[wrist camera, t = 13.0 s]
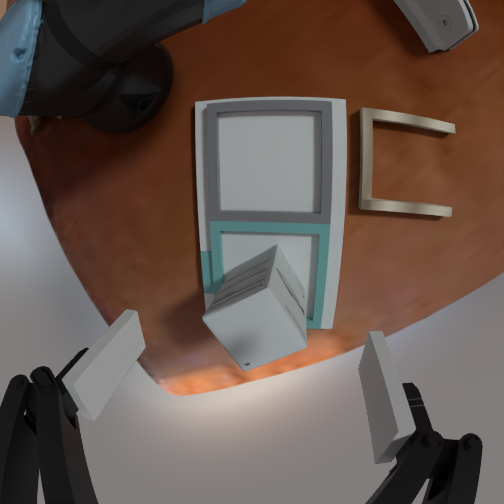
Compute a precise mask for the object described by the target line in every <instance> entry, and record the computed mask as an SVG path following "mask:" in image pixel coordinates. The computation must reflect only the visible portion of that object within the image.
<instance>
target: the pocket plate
mask: <svg viewBox="0 0 504 504" xmlns="http://www.w3.org/2000/svg"><path fill="white" fill-rule="evenodd" d="M195 137H196V176H197V199H198V218H199V235H200V249H201V263H202V275H203V287H204V297H205V307H206V311H207V309H208V308H209V306H210V304H211V303H212V301H213V299H214V298H215V296H216V294H217V293H218V291H219V289H220V288H221V286H222V284H223V283H224V281H225V279H226V278H227V276H228V275H229V273H230V272H231V270H232V269H234V268H236V267H238V266H239V265H241V264H243V263H245V262H247V261H248V260H250V259H252V258H254V257H256V256H257V255H259V254H261V253H263V252H265V251H266V250H268V249H270V248H272V247H274V246H275V245H277V244H278V245H279V247H280V249H281V250H282V252H283V254H284V256H285V257H286V259H287V261H288V262H289V264H290V266H291V268H292V269H293V271H294V273H295V274H296V276H297V277H298V279H299V281H300V282H301V284H302V285H303V287H304V288H305V294H306V329H332V326H333V320H334V313H335V306H336V298H337V291H338V282H339V273H340V264H341V254H342V242H343V230H344V215H345V196H346V162H347V129H346V100H344V99H332V98H314V97H252V98H234V99H221V100H210V101H201V102H195Z"/></svg>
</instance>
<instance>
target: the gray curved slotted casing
mask: <svg viewBox="0 0 504 504" xmlns="http://www.w3.org/2000/svg"><path fill="white" fill-rule="evenodd" d="M394 2H395V3H396V4H397V6H398V7H399V8H400V9H401V11H402V12H403V14H404V15H405V16H406V18H407V19H408V20H409V22H410V23H411V25H412V26H413V28H414V29H415V31H416V32H417V34H418V35H419V37H420V38H421V40H422V41H423V43H424V45H425V46H426V48H427V50H428V51H429V52H433V51H435V50H437V49H440V50H444V51H446V50H447V49H449V50H451V49H453V48H454V47H456V46H457V45H458V44H460V43H461V42H463V41H464V40H465V39H467V38H468V37H470V36H471V35H472V34H474V33H475V32H477V31H478V23H477V20H476V17H475V15H474V12H473V10H472V8H471V6H470V3H469V2H468V0H394Z"/></svg>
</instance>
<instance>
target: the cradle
mask: <svg viewBox="0 0 504 504" xmlns="http://www.w3.org/2000/svg"><path fill="white" fill-rule="evenodd" d="M373 120H374V121H382V122H389V123H396V124H402V125H408V126H414V127H419V128H425V129H430V130H434V131H439V132H443V133H448V134H454V133H455V124H451V123H447V122H443V121H439V120H434V119H430V118H425V117H420V116H415V115H410V114H404V113H398V112H392V111H386V110H379V109H371V108H361V109H360V183H359V204H358V207H359V208H360V209H365V210H380V211H393V212H405V213H417V214H428V215H438V216H447V217H451V213H452V208H451V207H449V206H444V205H436V204H427V203H418V202H408V201H397V200H385V199H373V198H371V193H372V168H373Z"/></svg>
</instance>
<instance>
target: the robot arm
mask: <svg viewBox="0 0 504 504" xmlns="http://www.w3.org/2000/svg"><path fill="white" fill-rule="evenodd" d="M246 1H247V0H16V1H15V2H14V3H13V4H12V5H11V7H10V8H9V9H8V10H7V12H6V13H5V14H4V16H3V17H2V19H1V20H0V115H1V116H9V117H11V118H14V117H16V116H58V117H77V118H79V119H80V120H82V121H83V122H85V123H86V124H88V125H90V126H91V127H93V128H94V129H96V130H98V131H101V132H105V133H126V132H130V131H133V130H135V129H137V128H139V127H141V126H142V125H144V124H145V123H146V122H148V121H149V120H150V119H151V118H152V117H153V116H154V115H155V114H156V113H157V112H158V110H159V109H160V108H161V106H162V105H163V103H164V101H165V100H166V98H167V96H168V93H169V91H170V88H171V84H172V80H173V63H172V59H171V56H170V54H169V52H168V50H167V49H166V48H165V47H164V46H163V45H162V44H161V43H159V42H160V41H162V40H164V39H166V38H168V37H170V36H172V35H175V34H177V33H179V32H181V31H183V30H186V29H188V28H190V27H193V26H195V25H197V24H200V23H201V24H204V23H206V22H207V21H208V20H209V19H211V18H213V17H215V16H218V15H220V14H223V13H225V12H228V11H231V10H233V9H236V8H238V7H240V6H242V5H243V4H244V3H245V2H246ZM145 347H146V346H145V342H144V338H143V334H142V330H141V326H140V322H139V317H138V313H137V311H134V310H128V309H126V310H125V311H124V313H123V314H122V315H121V316H120V317H119V318H118V319H117V320H116V321H115V322H114V323H113V324H112V325H111V326H110V327H109V328H108V329H107V330H106V331H105V332H104V333H103V335H102V336H101V337H100V338H99V339H98V340H97V341H96V342H95V343H94V344H93V345H92V346H91V347H90V349H89V348H85V349H83V350H81V351H80V352H78V354H77V355H76V356H75V357H74V359H72V360H71V361H70V362H69V363H68V364H67V365H66V367H65V368H64V369H63V370H62V371H61V372H60V373H59V374H58V376H56V378H55V377H54V375H53V373H52V371H51V370H50V369H49V368H48V367H45V366H41V367H38V368H36V369H35V370H33V371H32V373H31V375H30V378H31V380H32V382H33V383H30V382H29V380H28V378H27V377H26V376H25V375H17V376H15V377H13V378H12V379H11V381H10V383H9V385H8V388H7V390H6V393H5V395H4V398H3V401H2V404H1V406H0V504H37V491H38V478H39V469H40V474H41V481H42V488H43V493H44V498H45V503H46V504H98V501H97V498H96V495H95V492H94V489H93V486H92V482H91V478H90V475H89V471H88V467H87V463H86V458H85V454H84V450H83V444H82V439H81V434H80V428H79V422H78V417H77V414H76V412H77V411H78V410H79V411H80V412H81V414H82V416H83V417H85V418H87V419H90V420H92V421H95V420H96V418H97V417H98V415H99V414H100V412H101V411H102V409H103V408H104V406H105V405H106V403H107V402H108V400H109V399H110V397H111V396H112V394H113V393H114V392H115V390H116V389H117V387H118V386H119V384H120V383H121V381H122V380H123V378H124V377H125V376H126V374H127V373H128V371H129V370H130V369H131V367H132V366H133V364H134V363H135V361H136V360H137V359H138V357H139V356H140V354H141V353H142V352H143V350H144V349H145ZM358 369H359V374H360V379H361V383H362V388H363V394H364V399H365V404H366V409H367V415H368V421H369V426H370V432H371V439H372V445H373V453H374V460H375V464H380V463H387V462H391V461H392V460H393V459H394V457H395V456H396V460H397V464H396V465H395V466H394V467H393V468H392V469H391V470H390V471H389V474H388V476H387V477H386V478H385V480H384V481H383V483H382V484H381V485H380V486H379V488H378V489H377V490H376V492H375V493H374V494H373V495H372V496H371V498H370V499H369V500H368V501H367V502H366V503H365V504H411V503H412V502H413V500H414V499H415V497H416V496H417V494H418V493H419V491H420V489H421V488H422V486H423V484H424V483H425V481H426V479H430V480H429V483H428V486H427V490H426V493H425V496H424V499H423V502H422V504H474V502H475V497H476V492H477V486H478V481H479V474H480V467H481V458H482V447H483V446H482V441H481V439H480V438H479V437H478V436H477V435H475V434H472V433H469V434H466V435H464V436H463V437H462V438H461V439H460V440H450V439H444V438H443V437H442V436H441V434H439V433H438V432H436V431H433V429H432V426H431V423H430V420H429V417H428V414H427V411H426V409H425V406H424V403H423V401H422V399H421V395H420V392H419V390H418V389H417V387H416V386H415V385H414V384H413V383H401V380H400V377H399V375H398V372H397V369H396V366H395V364H394V361H393V358H392V355H391V353H390V350H389V347H388V345H387V342H386V340H385V337H384V335H383V332H382V331H369V333H368V337H367V341H366V344H365V348H364V352H363V355H362V358H361V361H360V364H359V368H358ZM25 411H26V415H24V412H25Z"/></svg>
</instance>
